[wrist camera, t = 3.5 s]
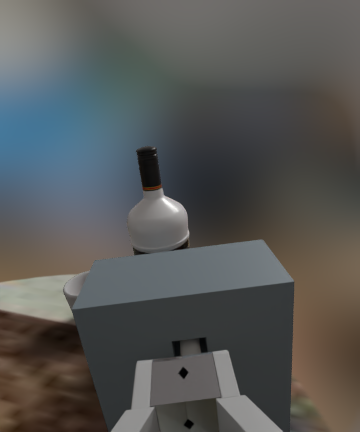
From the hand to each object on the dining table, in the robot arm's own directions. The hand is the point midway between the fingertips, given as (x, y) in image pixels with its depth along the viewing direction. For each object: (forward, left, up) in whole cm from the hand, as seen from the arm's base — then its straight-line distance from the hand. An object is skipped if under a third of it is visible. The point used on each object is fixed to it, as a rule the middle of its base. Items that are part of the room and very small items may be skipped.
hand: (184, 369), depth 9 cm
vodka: (+25, +17, -26) cm, 40 cm away
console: (+14, +8, -26) cm, 31 cm away
